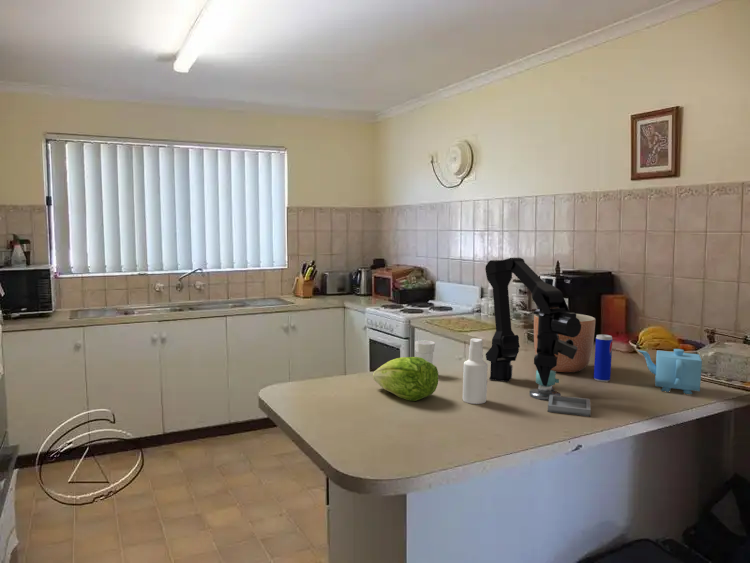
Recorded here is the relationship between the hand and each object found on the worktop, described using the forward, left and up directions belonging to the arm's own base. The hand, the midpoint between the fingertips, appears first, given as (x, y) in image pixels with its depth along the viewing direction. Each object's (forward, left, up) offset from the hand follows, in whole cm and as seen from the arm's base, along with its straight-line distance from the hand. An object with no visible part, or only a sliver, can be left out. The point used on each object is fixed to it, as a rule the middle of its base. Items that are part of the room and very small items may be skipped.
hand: (545, 382), depth 175 cm
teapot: (+36, +24, -4) cm, 43 cm away
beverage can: (+17, +27, -4) cm, 32 cm away
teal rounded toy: (0, 0, 0) cm, 0 cm away
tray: (+7, -10, -4) cm, 13 cm away
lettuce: (-40, -15, -4) cm, 43 cm away
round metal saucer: (0, 0, -4) cm, 4 cm away
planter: (+4, +38, -4) cm, 38 cm away
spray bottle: (-19, -13, -4) cm, 23 cm away
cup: (-40, +11, -4) cm, 42 cm away
